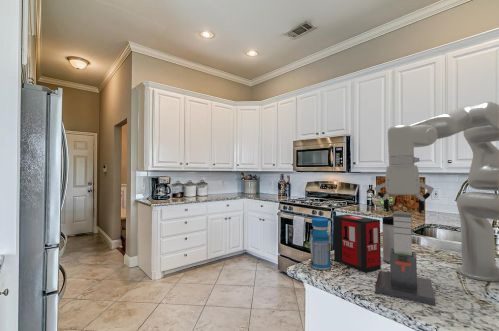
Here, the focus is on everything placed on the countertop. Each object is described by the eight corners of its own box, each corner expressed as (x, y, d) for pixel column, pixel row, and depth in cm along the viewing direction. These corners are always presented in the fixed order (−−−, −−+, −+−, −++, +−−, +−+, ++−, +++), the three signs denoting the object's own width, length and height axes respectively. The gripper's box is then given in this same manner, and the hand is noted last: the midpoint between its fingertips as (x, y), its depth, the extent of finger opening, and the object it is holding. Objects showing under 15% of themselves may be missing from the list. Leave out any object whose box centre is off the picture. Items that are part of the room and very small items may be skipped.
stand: (431, 285, 89) (430, 250, 89) (435, 305, 75) (434, 264, 76) (379, 275, 97) (379, 244, 98) (375, 292, 84) (374, 255, 84)
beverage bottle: (319, 271, 102) (318, 221, 102) (306, 264, 109) (305, 217, 110) (335, 268, 105) (334, 219, 106) (322, 262, 113) (321, 216, 113)
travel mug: (402, 264, 109) (401, 217, 110) (385, 263, 110) (384, 217, 111) (397, 259, 115) (396, 215, 116) (381, 259, 116) (380, 214, 117)
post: (412, 262, 87) (411, 212, 88) (412, 267, 83) (411, 214, 84) (394, 260, 90) (393, 211, 91) (394, 264, 86) (393, 213, 86)
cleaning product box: (380, 269, 104) (379, 219, 105) (366, 273, 100) (365, 221, 101) (348, 257, 119) (347, 214, 119) (334, 260, 115) (333, 215, 115)
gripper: (431, 160, 86) (433, 211, 86) (374, 163, 95) (376, 209, 95) (433, 160, 80) (435, 215, 80) (372, 162, 89) (374, 212, 89)
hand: (403, 211), depth 87 cm, fingers open, 9 cm apart
